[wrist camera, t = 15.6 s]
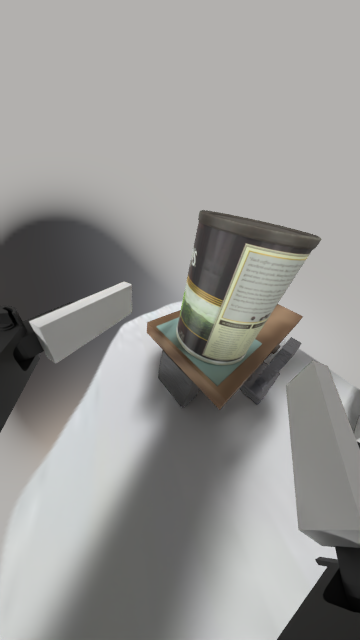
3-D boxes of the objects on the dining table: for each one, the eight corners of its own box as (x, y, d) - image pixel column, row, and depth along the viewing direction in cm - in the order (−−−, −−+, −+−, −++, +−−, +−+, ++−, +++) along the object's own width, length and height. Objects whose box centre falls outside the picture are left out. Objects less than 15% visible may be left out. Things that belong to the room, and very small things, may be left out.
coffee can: (161, 343, 20) (181, 207, 11) (191, 307, 28) (215, 211, 19) (243, 382, 17) (345, 244, 9) (250, 330, 25) (307, 231, 17)
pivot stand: (291, 355, 36) (322, 321, 30) (221, 456, 19) (259, 423, 13) (222, 310, 47) (234, 278, 41) (136, 350, 30) (136, 305, 24)
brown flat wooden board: (299, 325, 33) (305, 317, 32) (222, 413, 17) (229, 403, 15) (239, 293, 41) (242, 285, 40) (145, 331, 24) (146, 320, 23)
